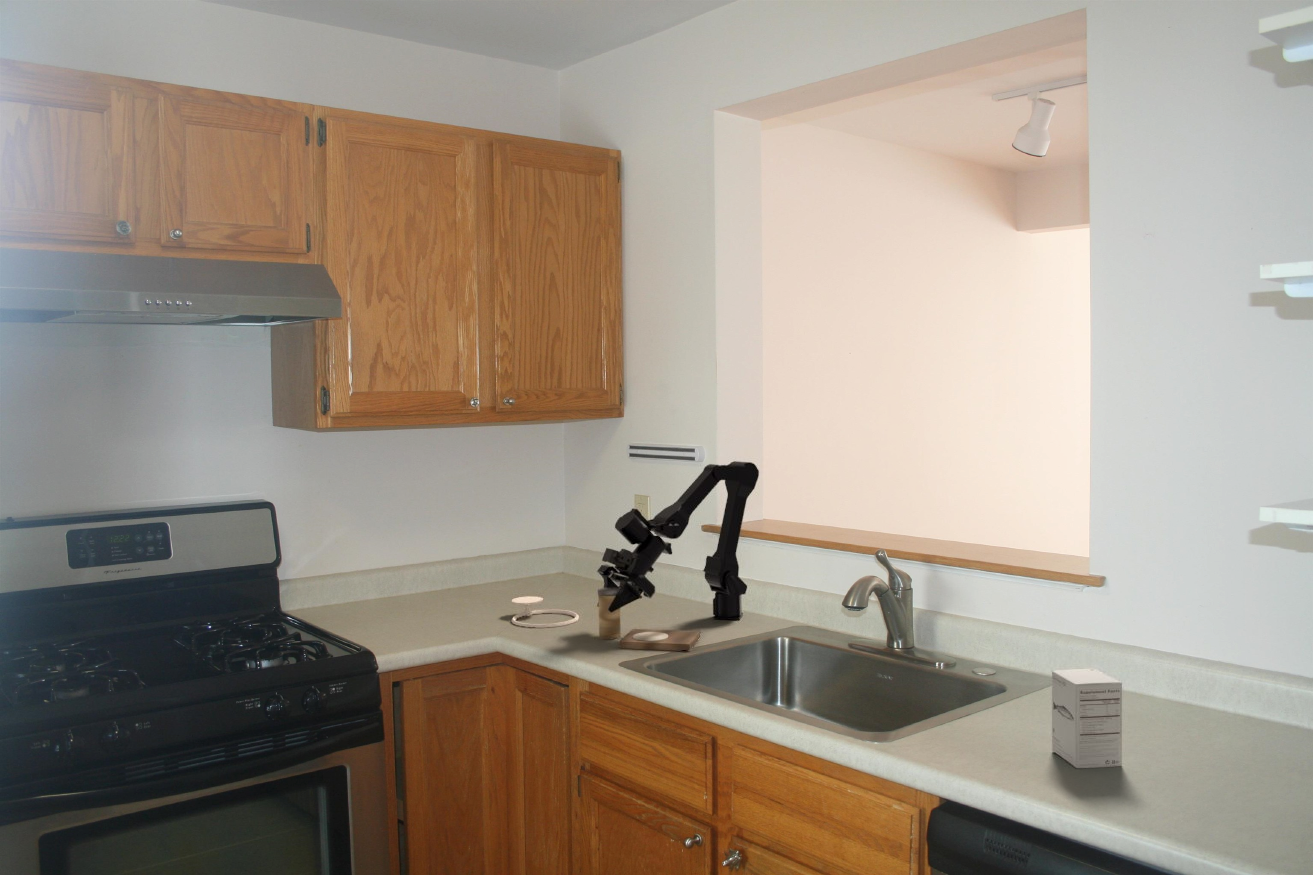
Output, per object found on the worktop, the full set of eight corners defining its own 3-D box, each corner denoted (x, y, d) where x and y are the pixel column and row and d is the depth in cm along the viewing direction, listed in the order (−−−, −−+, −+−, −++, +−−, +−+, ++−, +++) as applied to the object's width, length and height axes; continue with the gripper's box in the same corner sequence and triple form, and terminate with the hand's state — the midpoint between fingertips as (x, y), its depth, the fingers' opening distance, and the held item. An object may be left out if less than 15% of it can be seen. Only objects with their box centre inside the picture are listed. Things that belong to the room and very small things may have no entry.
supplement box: (1050, 751, 149) (1049, 669, 149) (1096, 748, 150) (1096, 667, 149) (1075, 769, 142) (1074, 683, 141) (1123, 766, 142) (1123, 681, 142)
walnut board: (700, 637, 225) (700, 630, 224) (689, 650, 213) (689, 643, 213) (632, 635, 228) (632, 627, 228) (619, 647, 217) (618, 640, 217)
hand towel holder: (535, 615, 234) (490, 602, 250) (536, 633, 234) (491, 619, 250) (592, 603, 245) (545, 592, 261) (592, 621, 245) (546, 608, 261)
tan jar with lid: (623, 634, 229) (622, 587, 229) (617, 639, 224) (616, 592, 224) (602, 633, 231) (601, 587, 230) (595, 638, 226) (594, 591, 225)
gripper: (603, 531, 237) (563, 581, 231) (642, 539, 221) (600, 594, 215) (632, 560, 241) (593, 610, 236) (673, 570, 225) (632, 624, 220)
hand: (604, 609), depth 227 cm, fingers closed on tan jar with lid, 5 cm apart
